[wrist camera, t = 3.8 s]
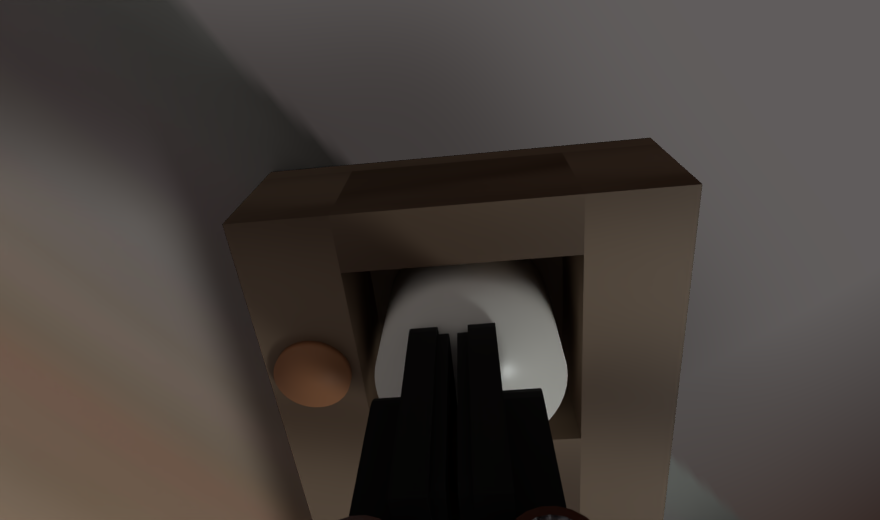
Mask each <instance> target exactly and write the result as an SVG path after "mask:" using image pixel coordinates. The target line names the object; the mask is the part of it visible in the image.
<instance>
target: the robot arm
mask: <svg viewBox="0 0 880 520" xmlns="http://www.w3.org/2000/svg"><path fill="white" fill-rule="evenodd" d="M340 520H589V519H588V518H587V517H586V516H584V515H582V514H580V513H578V512H576V511H574V510H572V509H568V508H567V507H566V502H565V497H564V493H563V488H562V483H561V478H560V473H559V468H558V463H557V459H556V454H555V449H554V444H553V439H552V434H551V430H550V425H549V420H548V415H547V410H546V405H545V400H544V396H543V392H542V389H541V388H533V389H517V390H503V389H502V380H501V371H500V362H499V353H498V344H497V335H496V326H495V323H484V324H470V325H468V332H462V333H457V398H456V389H455V381H454V372H453V363H452V354H451V346H450V337H449V333H447V334H439V331H438V327H428V328H414V329H410V330H409V335H408V343H407V351H406V359H405V366H404V374H403V382H402V389H401V397H391V398H375V399H373V400H372V402H371V406H370V411H369V416H368V421H367V426H366V431H365V436H364V441H363V446H362V451H361V456H360V461H359V467H358V472H357V477H356V482H355V487H354V492H353V497H352V502H351V507H350V512H349V517H346V518H343V519H340Z"/></svg>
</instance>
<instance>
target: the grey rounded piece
mask: <svg viewBox="0 0 880 520" xmlns="http://www.w3.org/2000/svg"><path fill="white" fill-rule="evenodd" d="M484 323H495V326H496V335H497V344H498V353H499V362H500V371H501V380H502V389H503V390H517V389H533V388H541V389H542V392H543V396H544V400H545V405H546V410H547V415H548V420H550V418H551V417H552V416H553V415H554V414H555V412H556V411H557V409H558V407H559V406H560V404H561V402H562V399H563V397H564V394H565V390H566V387H567V377H568V374H567V364H566V360H565V356H564V352H563V349H562V345H561V341H560V338H559V334H558V330H557V326H556V323H555V319H554V315H553V311H552V308H551V304H550V300H549V297H548V293H547V289H546V285H545V283H544V280H543V278H542V276H541V274H540V273H539V271H538V269H537V268H536V267H535V266H534V264H533V263H532V262H531V261H530V260H529V259H522V260H508V261H495V262H482V263H469V264H456V265H442V266H429V267H416V268H403V269H401V270H400V271H399V273H398V275H397V277H396V278H395V281H394V283H393V286H392V290H391V294H390V299H389V304H388V308H387V313H386V318H385V322H384V327H383V332H382V336H381V341H380V346H379V351H378V355H377V360H376V365H375V376H374V377H375V386H376V390H377V394H378V397H379V398H391V397H401V389H402V382H403V374H404V366H405V359H406V351H407V343H408V335H409V330H410V329H414V328H428V327H438V331H439V334H447V333H449V337H450V346H451V354H452V363H453V372H454V381H455V389H456V398H457V333H462V332H468V325H470V324H484Z"/></svg>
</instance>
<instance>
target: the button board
mask: <svg viewBox="0 0 880 520" xmlns="http://www.w3.org/2000/svg"><path fill="white" fill-rule="evenodd" d="M701 191H702V183H700V182H699V181H698V180H697V179H696V178H695V177H694V176H693V175H691V174H690V173H689V172H688V171H687V170H686V169H685V168H684V167H682V166H681V165H680V164H679V163H678V162H677V161H676V160H675V159H673V158H672V157H671V156H670V155H669V154H668V153H667V152H666V151H665V150H663V149H662V148H661V147H660V146H659V145H658V144H657V143H656V142H654V141H653V140H652V139H651V138H642V139H631V140H620V141H610V142H598V143H587V144H576V145H566V146H554V147H543V148H532V149H520V150H509V151H499V152H487V153H476V154H466V155H454V156H443V157H433V158H421V159H410V160H399V161H388V162H377V163H366V164H355V165H344V166H333V167H321V168H310V169H299V170H288V171H277V172H271V173H270V174H269V175H268V176H267V177H266V178H265V179H264V180H263V181H262V182H261V183H260V184H259V185H258V187H257V188H256V189H255V190H254V191H253V192H252V193H251V194H250V195H249V196H248V197H247V198H246V199H245V201H244V202H243V203H242V204H241V205H240V206H239V207H238V208H237V209H236V210H235V211H234V212H233V214H232V215H231V216H230V217H229V218H228V219H227V220H226V221H225V222H224V223H223V224H222V225H223V228H224V231H225V235H226V238H227V241H228V245H229V248H230V251H231V254H232V258H233V261H234V264H235V268H236V271H237V274H238V277H239V281H240V284H241V287H242V291H243V294H244V297H245V300H246V304H247V307H248V310H249V313H250V317H251V320H252V323H253V327H254V330H255V333H256V336H257V340H258V343H259V346H260V350H261V353H262V356H263V359H264V363H265V366H266V369H267V372H268V376H269V379H270V382H271V386H272V389H273V392H274V395H275V399H276V402H277V405H278V409H279V412H280V415H281V418H282V422H283V425H284V428H285V431H286V435H287V438H288V441H289V445H290V448H291V451H292V454H293V458H294V461H295V464H296V468H297V471H298V474H299V477H300V481H301V484H302V487H303V490H304V494H305V497H306V500H307V504H308V507H309V510H310V513H311V517H312V520H340V519H343V518H346V517H349V512H350V507H351V502H352V497H353V492H354V487H355V482H356V477H357V472H358V467H359V461H360V456H361V451H362V446H363V441H364V436H365V431H366V426H367V421H368V416H369V411H370V406H371V402H372V400H373V399H375V398H379V397H378V394H377V390H376V386H375V377H374V376H375V365H376V360H377V355H378V351H379V346H380V341H381V336H382V332H383V327H384V322H385V318H386V313H387V308H388V304H389V299H390V294H391V290H392V286H393V283H394V281H395V278H396V277H397V275H398V273H399V271H400V270H401V269H403V268H416V267H429V266H442V265H456V264H469V263H482V262H495V261H508V260H522V259H529V260H530V261H531V262H532V263H533V264H534V266H535V267H536V268H537V269H538V271H539V273H540V274H541V276H542V278H543V280H544V283H545V285H546V289H547V293H548V297H549V300H550V304H551V308H552V311H553V315H554V319H555V323H556V326H557V330H558V334H559V338H560V341H561V345H562V349H563V352H564V356H565V360H566V364H567V374H568V377H567V387H566V390H565V394H564V397H563V399H562V402H561V404H560V406H559V407H558V409H557V411H556V412H555V414H554V415H553V416H552V417H551V418H550V420H549V425H550V430H551V434H552V439H553V444H554V449H555V454H556V459H557V463H558V468H559V473H560V478H561V483H562V488H563V493H564V497H565V502H566V507H567V508H568V509H572V510H574V511H576V512H578V513H580V514H582V515H584V516H586V517H587V518H588V519H589V520H663V517H664V508H665V500H666V491H667V483H668V474H669V465H670V457H671V447H672V440H673V430H674V423H675V414H676V405H677V396H678V388H679V379H680V371H681V363H682V353H683V345H684V336H685V328H686V320H687V311H688V302H689V294H690V285H691V276H692V268H693V259H694V251H695V242H696V233H697V226H698V217H699V208H700V200H701Z"/></svg>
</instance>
